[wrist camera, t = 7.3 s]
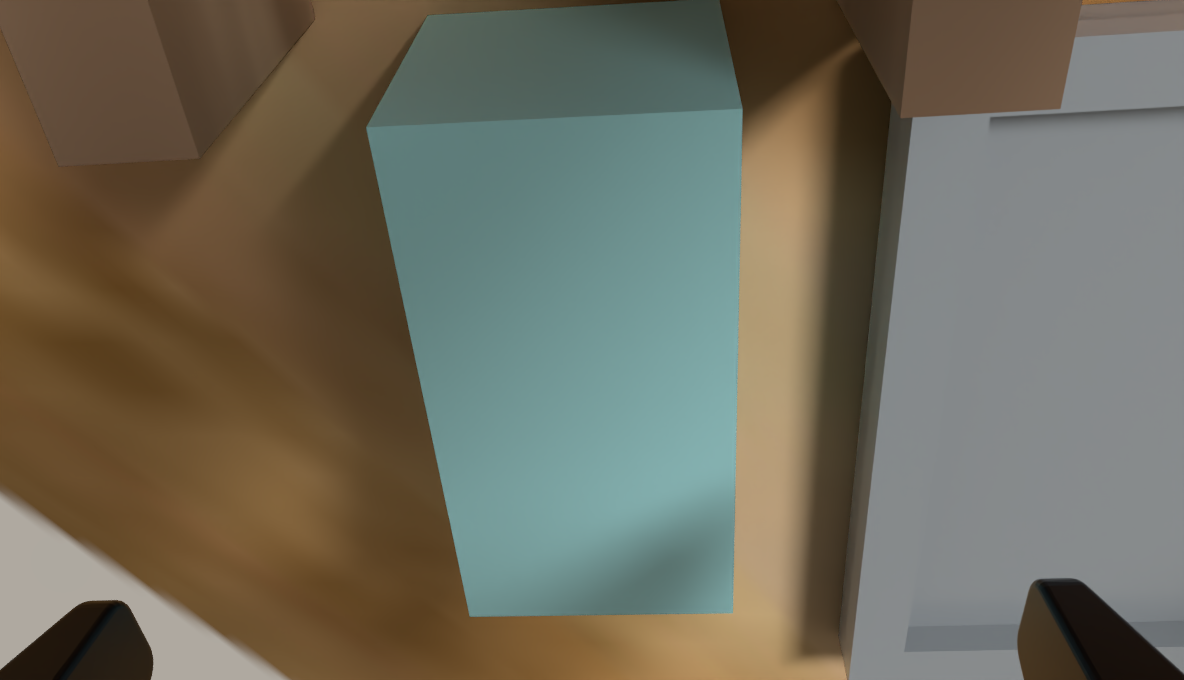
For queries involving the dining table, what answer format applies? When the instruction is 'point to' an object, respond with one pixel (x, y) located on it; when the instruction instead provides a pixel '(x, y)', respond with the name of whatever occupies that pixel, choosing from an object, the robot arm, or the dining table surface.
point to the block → (574, 297)
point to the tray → (1026, 366)
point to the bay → (284, 12)
